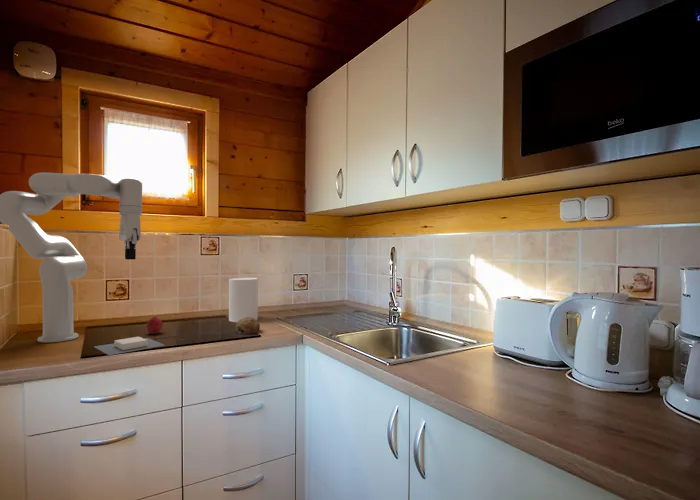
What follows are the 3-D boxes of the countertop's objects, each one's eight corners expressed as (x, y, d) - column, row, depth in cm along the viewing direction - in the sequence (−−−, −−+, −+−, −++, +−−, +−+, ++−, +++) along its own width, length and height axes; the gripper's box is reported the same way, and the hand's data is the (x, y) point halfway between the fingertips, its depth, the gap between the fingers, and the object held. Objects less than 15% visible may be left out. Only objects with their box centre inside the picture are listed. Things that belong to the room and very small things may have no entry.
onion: (156, 336, 156) (156, 316, 156) (143, 336, 158) (143, 316, 158) (165, 333, 162) (165, 314, 162) (153, 333, 163) (153, 313, 163)
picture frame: (114, 340, 139) (122, 344, 134) (138, 336, 145) (147, 340, 140) (114, 346, 139) (122, 350, 134) (138, 342, 145) (147, 346, 140)
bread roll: (233, 341, 165) (229, 325, 162) (244, 326, 174) (240, 311, 171) (255, 342, 163) (251, 326, 160) (265, 327, 172) (261, 312, 169)
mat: (93, 348, 139) (93, 346, 139) (147, 339, 152) (147, 337, 152) (108, 357, 128) (108, 355, 128) (165, 346, 141) (165, 345, 141)
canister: (234, 316, 201) (234, 277, 201) (260, 317, 200) (260, 277, 200) (224, 322, 187) (224, 279, 187) (253, 322, 187) (253, 280, 187)
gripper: (113, 211, 154) (113, 258, 154) (126, 209, 143) (125, 260, 143) (134, 212, 159) (134, 258, 159) (148, 211, 149) (147, 260, 149)
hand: (130, 259), depth 151 cm, fingers closed
